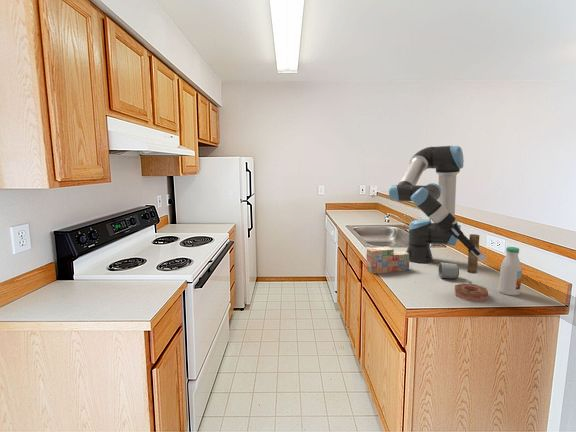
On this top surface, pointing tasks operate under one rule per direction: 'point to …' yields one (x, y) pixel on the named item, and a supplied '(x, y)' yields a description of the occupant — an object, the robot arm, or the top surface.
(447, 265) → the ceramic mug
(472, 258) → the dowel
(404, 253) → the stack of blocks
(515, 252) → the milk bottle
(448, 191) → the robot arm
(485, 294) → the terracotta faceted ring
